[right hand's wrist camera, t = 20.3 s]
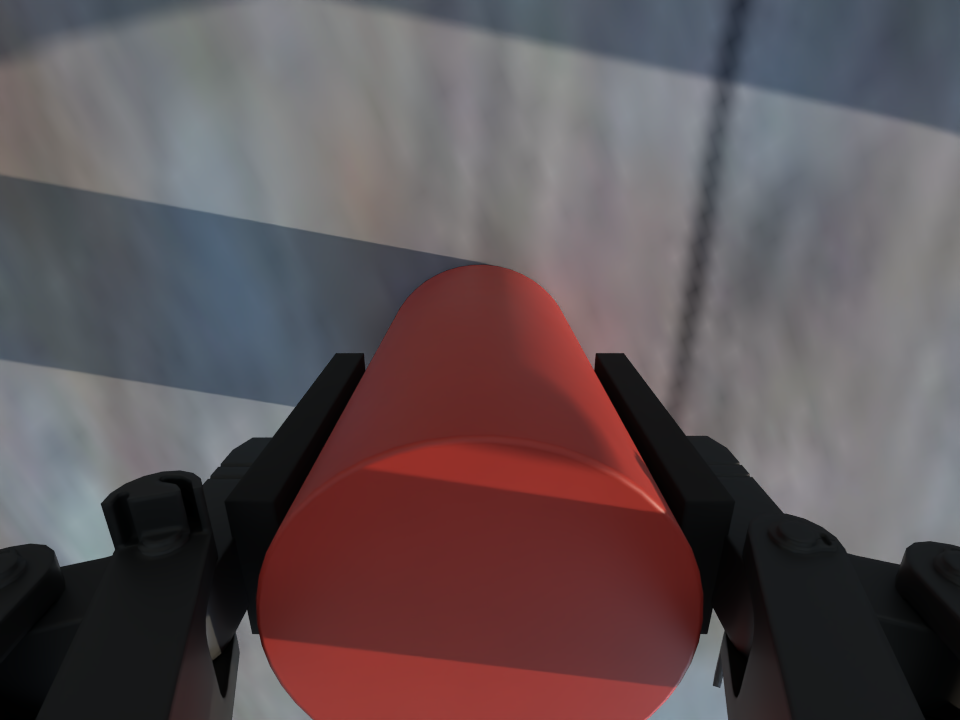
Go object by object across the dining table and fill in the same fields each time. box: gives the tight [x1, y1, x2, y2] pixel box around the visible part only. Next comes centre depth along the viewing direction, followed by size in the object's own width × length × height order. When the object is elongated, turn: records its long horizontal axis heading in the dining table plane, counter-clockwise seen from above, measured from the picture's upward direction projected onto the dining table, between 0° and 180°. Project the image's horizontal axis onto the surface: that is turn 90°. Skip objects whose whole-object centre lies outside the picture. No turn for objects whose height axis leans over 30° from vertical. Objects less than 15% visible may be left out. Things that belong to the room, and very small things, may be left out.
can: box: [256, 265, 703, 720], centre depth 12 cm, size 6×6×11 cm
